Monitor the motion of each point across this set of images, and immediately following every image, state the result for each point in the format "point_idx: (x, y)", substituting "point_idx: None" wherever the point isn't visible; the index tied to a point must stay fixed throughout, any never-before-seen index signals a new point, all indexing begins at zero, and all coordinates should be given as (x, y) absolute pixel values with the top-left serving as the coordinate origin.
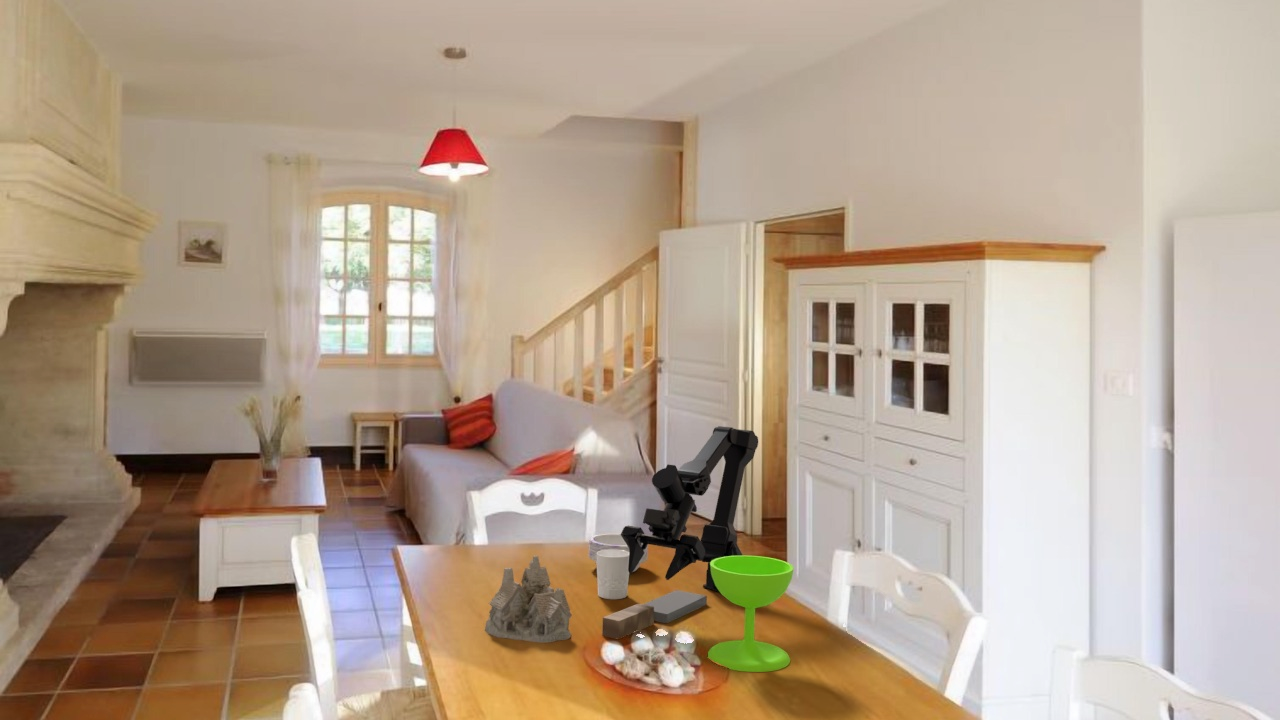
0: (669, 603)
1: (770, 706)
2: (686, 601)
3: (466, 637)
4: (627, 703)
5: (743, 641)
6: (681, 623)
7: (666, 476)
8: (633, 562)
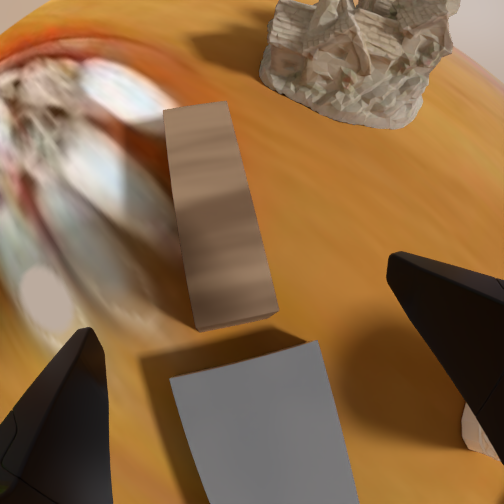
0: (274, 484)
1: None
2: None
3: None
4: (11, 33)
5: None
6: (144, 415)
7: None
8: (436, 295)
